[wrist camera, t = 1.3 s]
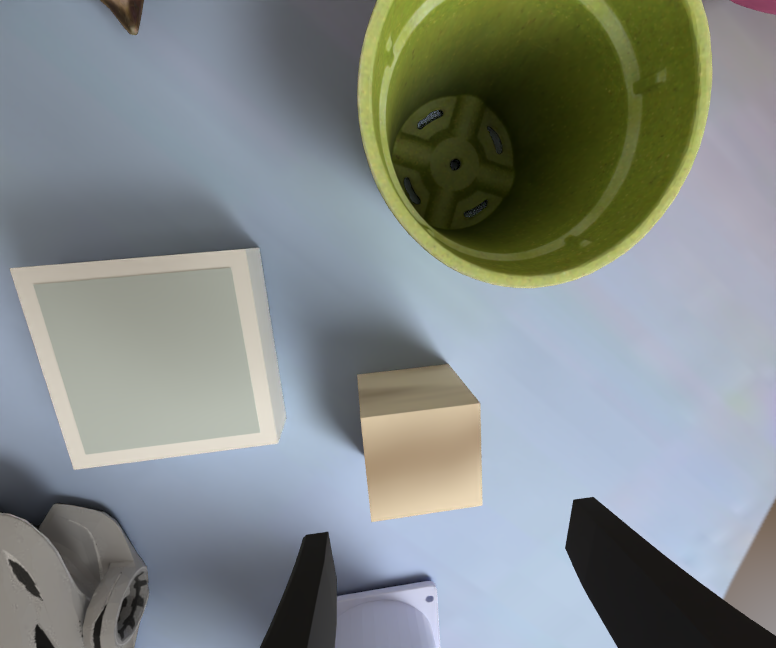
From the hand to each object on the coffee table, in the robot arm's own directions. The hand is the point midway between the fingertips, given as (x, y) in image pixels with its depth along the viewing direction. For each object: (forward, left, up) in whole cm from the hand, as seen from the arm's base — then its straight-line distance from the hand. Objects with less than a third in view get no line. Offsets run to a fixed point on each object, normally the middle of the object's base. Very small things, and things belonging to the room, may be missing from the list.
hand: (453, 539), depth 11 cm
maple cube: (-1, 0, -10) cm, 10 cm away
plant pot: (+12, -3, -10) cm, 16 cm away
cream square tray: (+4, +11, -10) cm, 15 cm away
